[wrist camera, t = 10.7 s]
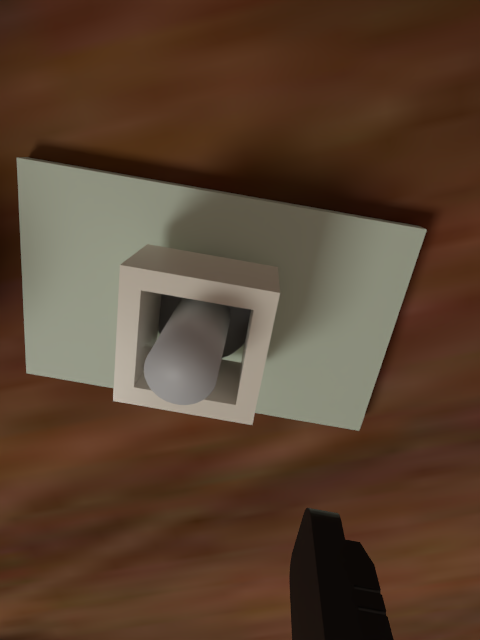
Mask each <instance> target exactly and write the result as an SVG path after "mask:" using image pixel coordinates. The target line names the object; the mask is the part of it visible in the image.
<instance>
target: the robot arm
mask: <svg viewBox="0 0 480 640" xmlns="http://www.w3.org/2000/svg"><path fill="white" fill-rule="evenodd" d="M380 590H381V589H380V586H379V582H378V578H377V574H376V570H375V566H374V564H373V562H372V561H371V559H370V558H369V556H368V554H367V553H366V551H365V550H364V548H363V547H362V545H361V543H360V542H355V541H350V540H345V537H344V532H343V527H342V522H341V518H340V516H339V514H338V513H333V512H328V511H322V510H316V509H311V508H306V510H305V512H304V515H303V518H302V522H301V525H300V528H299V532H298V535H297V539H296V542H295V545H294V549H293V552H292V557H291V564H290V602H291V623H292V640H393V636H392V632H391V628H390V624H389V621H388V617H387V616H386V609H385V605H384V601H383V597H382V595H381V594H380Z"/></svg>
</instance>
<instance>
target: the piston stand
mask: <svg viewBox="0 0 480 640" xmlns="http://www.w3.org/2000/svg"><path fill="white" fill-rule="evenodd" d="M17 177H18V199H19V221H20V243H21V265H22V287H23V309H24V331H25V352H26V373H29V374H35V375H40V376H46V377H52V378H58V379H64V380H69V381H75V382H81V383H87V384H92V385H98V386H104V387H110V388H114V372H115V352H116V332H117V312H118V293H119V273H120V264H122V263H123V262H124V261H126V260H127V259H128V258H130V257H131V256H132V255H134V254H135V253H136V252H138V251H139V250H140V249H142V248H143V247H144V246H146V245H147V244H150V245H156V246H161V247H167V248H173V249H178V250H184V251H190V252H195V253H201V254H207V255H213V256H218V257H224V258H230V259H235V260H241V261H247V262H252V263H258V264H264V265H270V266H275V267H278V274H279V285H280V296H279V301H278V306H277V310H276V315H275V320H274V325H273V329H272V334H271V339H270V343H269V348H268V353H267V358H266V362H265V367H264V372H263V376H262V381H261V386H260V391H259V395H258V400H257V405H256V410H255V413H259V414H265V415H271V416H277V417H283V418H288V419H294V420H300V421H306V422H311V423H317V424H323V425H329V426H334V427H340V428H346V429H352V430H357V431H359V430H360V427H361V424H362V421H363V418H364V415H365V412H366V409H367V406H368V403H369V400H370V397H371V394H372V391H373V388H374V385H375V382H376V379H377V377H378V374H379V371H380V368H381V365H382V362H383V359H384V356H385V353H386V350H387V347H388V344H389V341H390V338H391V335H392V332H393V329H394V326H395V323H396V320H397V317H398V314H399V311H400V308H401V305H402V302H403V299H404V296H405V293H406V290H407V287H408V284H409V281H410V278H411V275H412V272H413V269H414V266H415V264H416V261H417V258H418V255H419V252H420V249H421V246H422V243H423V240H424V237H425V234H426V231H427V229H425V228H423V227H421V226H416V225H411V224H405V223H399V222H393V221H388V220H382V219H376V218H371V217H365V216H359V215H354V214H348V213H342V212H336V211H331V210H325V209H319V208H314V207H308V206H302V205H297V204H291V203H285V202H279V201H274V200H268V199H262V198H257V197H251V196H245V195H240V194H234V193H228V192H222V191H217V190H211V189H205V188H200V187H194V186H188V185H183V184H177V183H171V182H165V181H160V180H154V179H148V178H143V177H137V176H131V175H126V174H120V173H114V172H108V171H103V170H97V169H91V168H86V167H80V166H74V165H69V164H63V163H57V162H51V161H46V160H40V159H34V158H29V157H20V158H17ZM250 312H251V309H245V308H239V307H233V306H228V305H222V304H216V303H211V302H205V301H199V300H193V299H188V298H182V297H176V296H171V295H165V294H161V305H160V315H159V326H158V337H157V340H156V342H155V344H154V346H153V347H152V349H151V351H150V352H149V354H148V356H147V358H146V360H145V363H144V376H145V379H146V382H147V384H148V386H149V387H150V389H151V390H152V391H153V392H154V393H155V394H156V395H157V396H158V397H160V398H161V399H163V400H165V401H167V402H170V403H173V404H177V405H190V404H195V403H198V402H200V401H202V400H204V399H205V398H206V397H208V396H209V395H210V394H211V392H212V391H213V389H214V387H215V385H216V382H217V377H218V373H219V368H220V364H221V359H223V360H229V361H235V362H240V363H241V361H242V355H243V350H244V345H245V339H246V334H247V328H248V323H249V318H250Z"/></svg>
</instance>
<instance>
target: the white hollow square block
mask: <svg viewBox="0 0 480 640" xmlns="http://www.w3.org/2000/svg"><path fill="white" fill-rule="evenodd" d="M161 294H165V295H171V296H176V297H182V298H188V299H193V300H199V301H205V302H211V303H216V304H222V305H228V306H233V307H239V308H245V309H251V312H250V318H249V323H248V328H247V334H246V339H245V345H244V350H243V355H242V361H241V363H240V362H235V361H229V360H223V359H221V364H220V368H219V373H218V377H217V382H216V385H215V387H214V389H213V391H212V392H211V394H210V395H209V396H208V397H206V398H205V399H204V400H202V401H200V402H198V403H195V404H190V405H177V404H173V403H170V402H167V401H165V400H163V399H161V398H160V397H158V396H157V395H156V394H155V393H154V392H153V391H152V390H151V389H150V387H149V386H148V384H147V382H146V379H145V376H144V363H145V360H146V358H147V356H148V354H149V352H150V351H151V349H152V347H153V346H154V344H155V342H156V340H157V337H158V326H159V315H160V305H161ZM279 296H280V285H279V274H278V267H275V266H270V265H264V264H258V263H252V262H247V261H241V260H235V259H230V258H224V257H218V256H213V255H207V254H201V253H195V252H190V251H184V250H178V249H173V248H167V247H161V246H156V245H150V244H147V245H146V246H144V247H143V248H142V249H140V250H139V251H138V252H136V253H135V254H134V255H132V256H131V257H130V258H128V259H127V260H126V261H124V262H123V263H122V264H120V273H119V293H118V312H117V332H116V352H115V372H114V391H113V401H117V402H123V403H129V404H134V405H140V406H146V407H152V408H157V409H163V410H169V411H175V412H180V413H186V414H192V415H198V416H203V417H209V418H215V419H221V420H226V421H232V422H238V423H244V424H249V425H252V424H253V419H254V414H255V410H256V405H257V400H258V395H259V391H260V386H261V381H262V376H263V372H264V367H265V362H266V358H267V353H268V348H269V343H270V339H271V334H272V329H273V325H274V320H275V315H276V310H277V306H278V301H279Z"/></svg>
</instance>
